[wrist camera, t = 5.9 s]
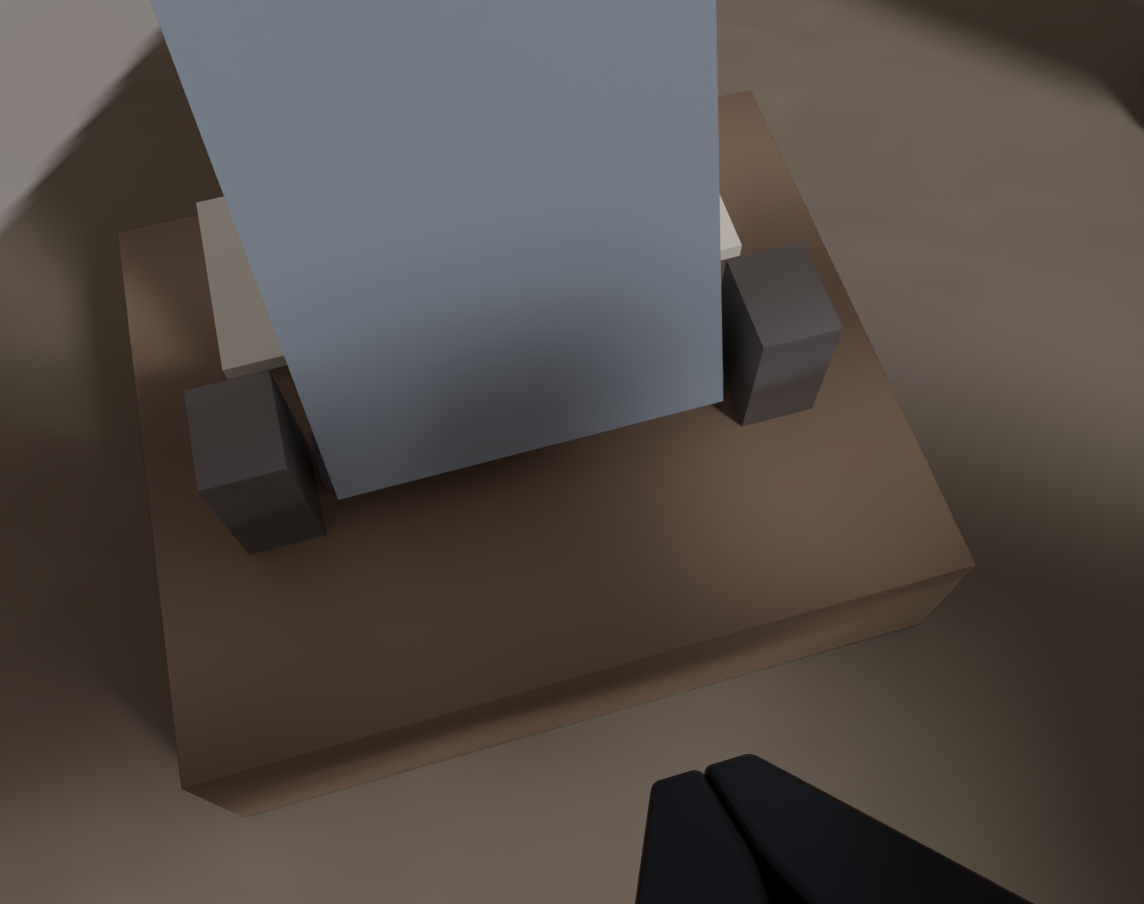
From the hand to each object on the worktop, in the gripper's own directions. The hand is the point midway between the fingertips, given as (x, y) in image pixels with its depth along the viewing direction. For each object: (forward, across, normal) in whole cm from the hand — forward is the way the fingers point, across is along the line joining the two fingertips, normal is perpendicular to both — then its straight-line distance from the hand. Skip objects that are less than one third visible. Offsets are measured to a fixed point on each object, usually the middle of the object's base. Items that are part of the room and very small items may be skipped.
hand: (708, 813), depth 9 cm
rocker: (+9, 0, 0) cm, 9 cm away
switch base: (+12, 0, +2) cm, 12 cm away
